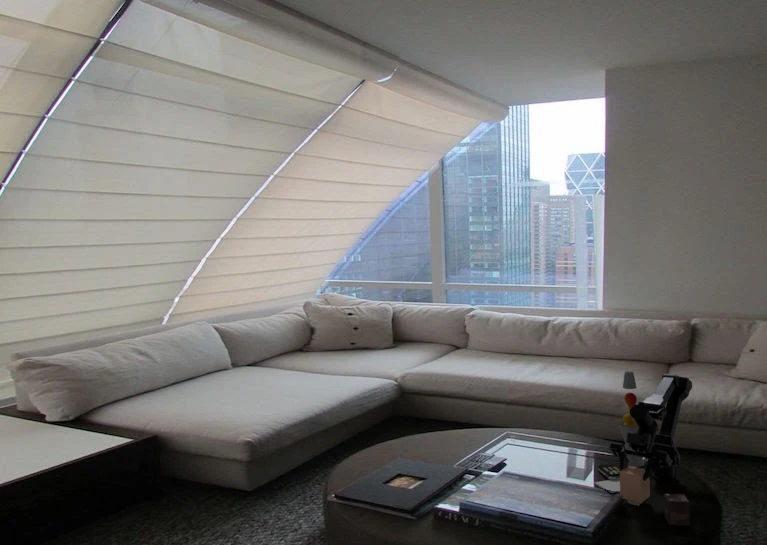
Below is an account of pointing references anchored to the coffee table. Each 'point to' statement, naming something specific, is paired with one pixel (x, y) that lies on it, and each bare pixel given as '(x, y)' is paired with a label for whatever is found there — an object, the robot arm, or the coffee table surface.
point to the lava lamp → (630, 418)
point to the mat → (609, 485)
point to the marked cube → (634, 502)
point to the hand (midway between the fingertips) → (632, 477)
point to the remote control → (610, 471)
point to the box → (676, 509)
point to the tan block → (634, 484)
